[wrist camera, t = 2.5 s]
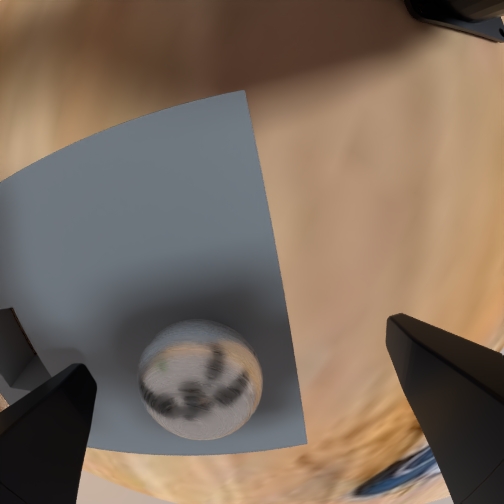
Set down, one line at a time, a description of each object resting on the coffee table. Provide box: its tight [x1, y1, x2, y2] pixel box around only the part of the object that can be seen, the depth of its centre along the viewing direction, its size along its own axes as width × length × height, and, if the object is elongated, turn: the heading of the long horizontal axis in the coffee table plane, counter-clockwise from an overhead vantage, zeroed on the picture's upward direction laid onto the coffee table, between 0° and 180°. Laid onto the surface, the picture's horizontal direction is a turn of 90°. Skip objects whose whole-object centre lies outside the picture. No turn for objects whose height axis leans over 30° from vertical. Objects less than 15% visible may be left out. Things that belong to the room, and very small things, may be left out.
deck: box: [0, 90, 307, 456], centre depth 10 cm, size 16×13×3 cm
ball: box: [137, 319, 263, 440], centre depth 7 cm, size 3×3×3 cm
